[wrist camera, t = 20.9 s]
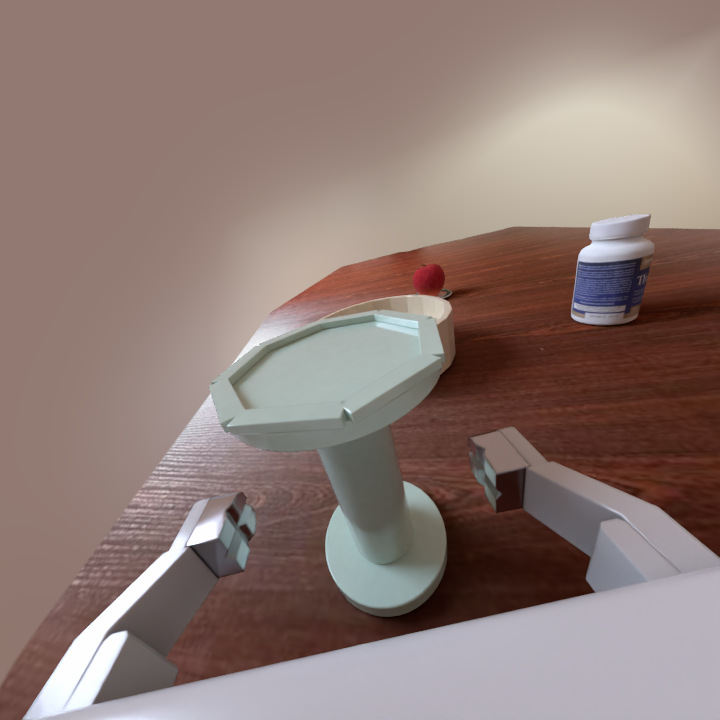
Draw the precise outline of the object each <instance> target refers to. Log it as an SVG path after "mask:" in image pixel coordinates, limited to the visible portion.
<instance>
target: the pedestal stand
mask: <svg viewBox="0 0 720 720" xmlns="http://www.w3.org/2000/svg"><path fill="white" fill-rule="evenodd" d="M259 345H260V346H256V347H254V348H253V349H251V350H250V351H249V352H248V353H246V354H245V355H244V356H243V357H242V358H240V359H239V360H238V361H237V362H235V363H234V364H233V365H232V366H231V367H229V368H228V369H227V370H226V371H224V372H223V373H222V374H221V375H220V376H218V377H217V378H216V379H215V380H213V381H212V382H211V383H212V385H210V386H209V389H210V392H211V395H212V399H213V402H214V405H215V408H216V411H217V414H218V417H219V420H220V424H221V426H222V427H223V429H224V431H225V432H226V433H228V432H229V431H230V433H231V435H234V436H235V437H236V438H237V439H238V440H240V441H241V442H243V443H245V444H247V445H249V446H252V447H255V448H258V449H261V450H268V451H275V452H299V451H309V450H317V451H318V454H319V456H320V459H321V461H322V464H323V466H324V469H325V471H326V473H327V476H328V478H329V481H330V483H331V486H332V488H333V491H334V493H335V496H336V498H337V501H338V503H339V506H338V507H337V508H336V510H335V512H334V514H333V516H332V518H331V520H330V523H329V526H328V530H327V535H326V543H325V550H326V559H327V564H328V567H329V571H330V573H331V575H332V577H333V579H334V581H335V583H336V585H337V587H338V588H339V590H340V592H341V593H342V594H343V596H344V597H345V598H346V599H347V600H348V601H349V602H350V603H351V604H352V605H354V606H355V607H356V608H358V609H360V610H361V611H363V612H366V613H368V614H371V615H375V616H380V617H392V616H399V615H402V614H405V613H408V612H410V611H412V610H414V609H416V608H418V607H419V606H420V605H422V604H423V603H424V602H425V601H426V600H427V599H428V598H429V597H430V596H431V595H432V594H433V592H434V591H435V590H436V588H437V587H438V585H439V583H440V581H441V579H442V577H443V574H444V571H445V567H446V562H447V553H448V546H447V536H446V530H445V525H444V522H443V519H442V516H441V514H440V512H439V510H438V508H437V506H436V505H435V503H434V502H433V501H432V500H431V498H430V497H429V496H428V495H427V494H426V493H425V492H423V491H422V490H421V489H419V488H418V487H416V486H414V485H413V484H410V483H408V482H405V481H403V479H402V475H401V470H400V466H399V461H398V457H397V452H396V448H395V444H394V439H393V435H392V430H391V426H390V424H392V423H393V422H395V421H396V420H398V419H399V418H401V417H403V416H404V415H406V414H407V413H409V412H410V411H411V410H412V409H413V408H415V407H416V406H417V405H418V404H420V403H421V402H422V401H423V400H424V399H425V398H426V396H427V395H428V394H429V393H430V392H431V391H432V389H433V388H434V386H435V385H436V383H437V381H438V379H439V377H440V374H441V370H442V363H445V353H444V349H443V345H442V342H441V338H440V334H439V331H438V327H437V323H436V319H435V318H432V317H431V316H425V315H418V314H411V313H404V312H397V311H389V310H380V311H378V310H374V311H368V312H362V313H357V314H351V315H345V316H340V317H334V318H328V319H323V320H320V321H319V322H317V321H315V322H313V323H310V324H308V325H305V326H303V327H300V328H298V329H295V330H293V331H290V332H288V333H286V334H283V335H281V336H278V337H276V338H273V339H271V340H268V341H266V342H263V343H261V344H259Z"/></svg>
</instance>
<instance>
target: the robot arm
mask: <svg viewBox="0 0 720 720" xmlns="http://www.w3.org/2000/svg"><path fill="white" fill-rule="evenodd" d="M468 446H469V448H470V450H471V452H470V453H469V463H470V466H471V470H472V472H473V474H474V476H475V478H476V480H477V482H478V483H480V484H481V485H483V486H485V495H486V497H487V499H488V500H489V502H490V504H491V505H492V507H493V509H494V510H495V512H496V513H499V512H504V511H509V510H514V509H519V508H523V510H525V511H526V512H528V513H529V514H530V515H532V516H533V517H535V518H536V519H538V520H539V521H540V522H542V523H543V524H545V525H546V526H547V527H549V528H550V529H552V530H553V531H554V532H556V533H557V534H559V535H560V536H561V537H563V538H564V539H566V540H567V541H569V542H570V543H571V544H573V545H574V546H576V547H577V548H578V549H580V550H581V551H583V552H584V553H585V554H587V555H588V556H590V557H591V559H590V563H589V566H588V570H587V574H586V580H587V582H588V583H589V585H590V586H591V587H592V589H593V590H594V591H595V593H591V594H586V595H582V596H578V597H573V598H569V599H564V600H560V601H555V602H551V603H546V604H542V605H537V606H533V607H528V608H524V609H519V610H515V611H510V612H506V613H501V614H497V615H492V616H488V617H483V618H479V619H474V620H470V621H465V622H461V623H456V624H452V625H447V626H443V627H438V628H434V629H429V630H425V631H420V632H416V633H411V634H407V635H402V636H398V637H393V638H389V639H385V640H380V641H376V642H371V643H367V644H362V645H358V646H353V647H349V648H344V649H340V650H335V651H331V652H326V653H322V654H317V655H313V656H308V657H304V658H299V659H295V660H290V661H286V662H281V663H277V664H272V665H268V666H263V667H259V668H254V669H250V670H246V671H241V672H237V673H232V674H228V675H223V676H219V677H214V678H210V679H205V680H201V681H196V682H192V683H187V684H183V685H178V686H174V687H173V684H174V682H175V679H176V676H177V673H178V668H177V665H175V664H174V663H173V662H171V661H170V660H168V659H167V658H166V656H167V655H168V653H169V652H170V650H171V649H172V648H173V646H174V645H175V643H176V642H177V640H178V639H179V637H180V636H181V634H182V633H183V631H184V630H185V629H186V627H187V626H188V624H189V623H190V621H191V620H192V618H193V617H194V615H195V614H196V612H197V611H198V610H199V608H200V607H201V605H202V604H203V602H204V601H205V599H206V598H207V596H208V595H209V593H210V592H211V591H212V589H213V588H214V586H215V585H216V583H217V582H218V580H219V579H218V578H221V577H225V576H229V575H233V574H236V573H240V572H244V569H245V566H246V562H247V559H248V555H249V551H250V547H249V545H248V542H249V541H250V540H251V538H252V537H253V536H254V533H255V529H256V513H255V510H254V509H253V507H252V506H251V505H249V504H246V503H245V502H246V499H247V498H246V496H245V495H244V493H243V492H237V493H232V494H228V495H223V496H218V497H213V498H210V499H205V500H200V501H198V502H197V503H196V504H194V506H193V507H192V509H191V511H190V513H189V515H188V517H187V519H186V520H185V522H184V524H183V526H182V528H181V530H180V531H179V533H178V535H177V537H176V539H175V541H174V543H173V544H172V546H171V548H170V550H169V551H168V552H164V553H163V554H162V555H161V556H160V557H159V558H158V559H157V560H156V561H155V562H154V563H153V564H152V565H151V566H150V567H149V568H148V569H147V570H146V571H145V572H144V573H143V574H142V575H141V576H140V577H139V578H138V579H137V580H136V581H134V582H133V583H132V584H131V585H130V586H129V587H128V588H127V589H126V590H125V591H124V592H123V593H122V594H121V595H120V596H119V597H118V598H117V599H116V600H115V601H114V602H113V603H112V604H111V605H110V606H109V607H108V608H107V609H106V610H105V611H104V612H103V613H102V614H101V615H100V616H99V617H98V618H97V619H96V620H95V621H94V622H93V623H91V624H90V625H89V626H88V627H87V628H86V629H85V630H84V631H83V632H82V633H81V634H80V635H79V636H78V637H77V638H76V639H75V640H74V641H73V643H72V645H71V646H70V648H69V649H68V651H67V652H66V654H65V655H64V657H63V658H62V660H61V661H60V663H59V664H58V666H57V667H56V669H55V671H54V672H53V674H52V675H51V677H50V678H49V680H48V681H47V683H46V684H45V686H44V687H43V689H42V690H41V692H40V693H39V695H38V696H37V698H36V700H35V701H34V703H33V704H32V706H31V707H30V709H29V710H28V712H27V713H26V715H25V716H24V718H23V719H22V720H720V558H719V557H718V556H717V555H716V554H715V553H713V552H712V551H711V550H710V549H709V548H707V547H706V546H705V545H704V544H703V543H701V542H700V541H699V540H698V539H697V538H695V537H694V536H693V535H692V534H690V533H689V532H688V531H687V530H686V529H684V528H683V527H682V526H681V525H680V524H678V523H677V522H676V521H675V520H674V519H672V518H671V517H670V516H669V515H668V514H666V513H665V512H664V511H663V510H662V509H660V508H659V507H657V506H655V505H652V504H650V503H648V502H646V501H643V500H641V499H639V498H636V497H634V496H632V495H629V494H627V493H625V492H622V491H620V490H618V489H616V488H613V487H611V486H609V485H606V484H604V483H602V482H599V481H597V480H595V479H592V478H590V477H588V476H586V475H583V474H581V473H579V472H576V471H574V470H572V469H569V468H567V467H565V466H562V465H560V464H558V463H556V462H553V461H552V462H547V461H546V460H545V459H544V457H543V456H542V455H541V454H540V453H539V452H538V451H537V450H536V449H535V448H534V447H533V446H532V445H531V444H530V443H529V442H528V441H527V440H526V439H525V438H524V437H523V436H522V435H521V434H520V433H519V432H518V431H517V430H516V429H515V428H514V427H512V426H511V427H507V428H503V429H499V430H497V431H496V430H495V431H491V432H487V433H483V434H479V435H475V436H471V437H468Z"/></svg>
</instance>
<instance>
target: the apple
mask: <svg viewBox="0 0 720 720" xmlns="http://www.w3.org/2000/svg"><path fill="white" fill-rule="evenodd" d="M423 266H425V265H423ZM444 281H445V275H444V272H443V270H442V268H441V267H440V266H439V265H436V264H430V265H427V266H425V267H422V268H419V269H418V270H417V271H416V272H415V274H414V277H413V284H414V288H415V289H416V291H417V292H418V293H417V294H414V295H428V296H435V297H440V298H442V299H443V298H446V297H448V296H450V295H451V294H452V291H451V290H448V289H442V288H443V285H444Z"/></svg>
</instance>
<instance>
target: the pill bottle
mask: <svg viewBox="0 0 720 720" xmlns="http://www.w3.org/2000/svg"><path fill="white" fill-rule="evenodd" d="M650 218H651V215H650V214H638V215H630V216H622V217H616V218H610V219H606V220H601V221H597V222H595V223H593V224H592V225H591V230H590V235H589V237H590V239H591V240H592V243H591V245H589V246H587V247H585V248H584V249H582V250H581V252H580V253H579V257H578V264H577V272H576V280H575V288H574V295H573V303H572V312H571V316H572V318H573V319H574V320H575V321H577V322H580V323H584V324H591V325H618V324H625V323H628V322H630V321H632V320H634V319H636V318H637V316H638V312H639V309H640V305H641V301H642V297H643V293H644V289H645V285H646V282H647V277H648V273H649V269H650V265H651V261H652V257H653V253H654V244H653V242H652V241H650V240H648V239H644V238H643V233H645V232H647V231H648V230H647V229H648V228H649V224H650Z"/></svg>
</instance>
